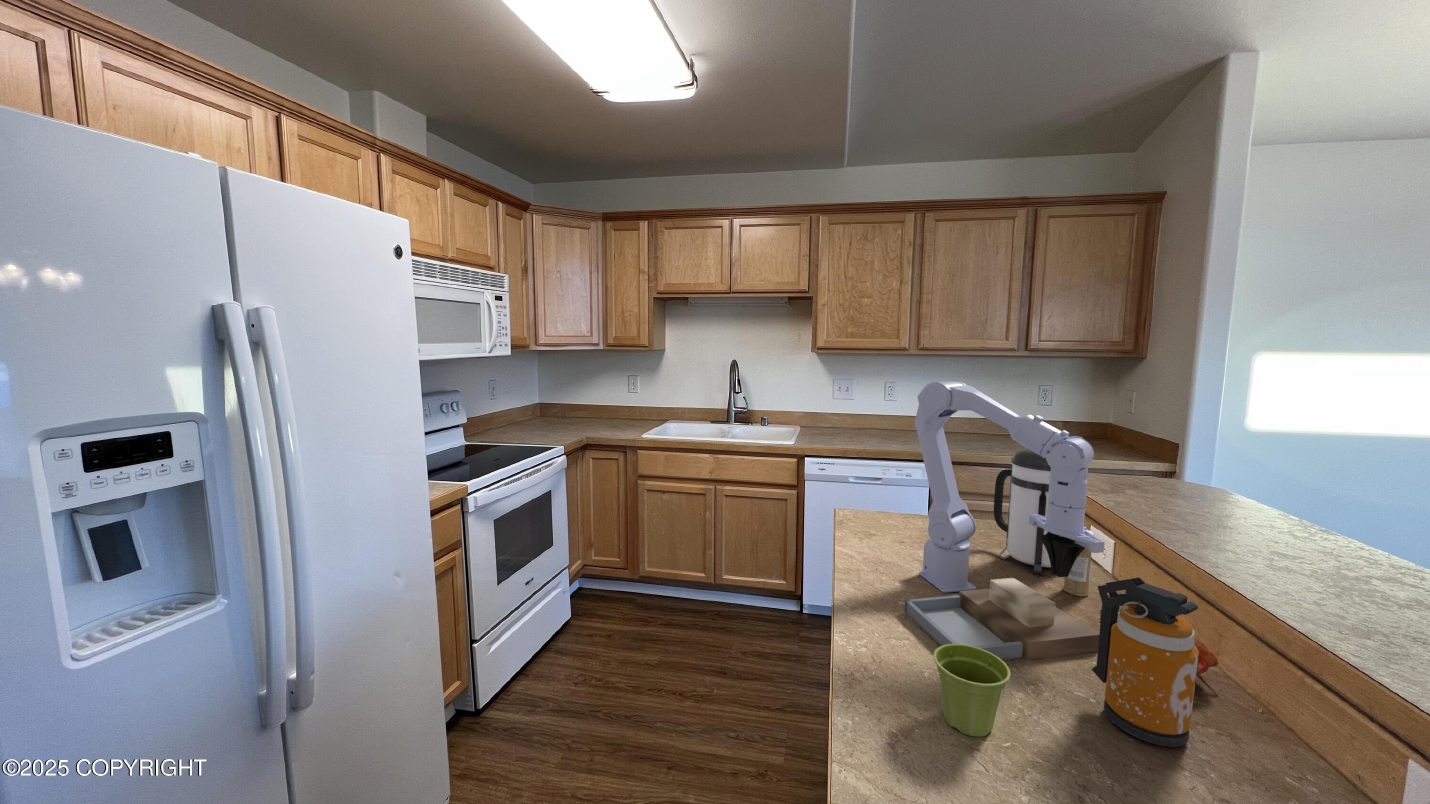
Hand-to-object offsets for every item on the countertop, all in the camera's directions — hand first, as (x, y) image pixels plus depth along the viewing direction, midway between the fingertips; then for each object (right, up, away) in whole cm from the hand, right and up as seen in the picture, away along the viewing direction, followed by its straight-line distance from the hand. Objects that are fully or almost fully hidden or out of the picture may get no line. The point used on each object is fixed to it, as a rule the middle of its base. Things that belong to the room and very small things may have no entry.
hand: (1060, 575), depth 96 cm
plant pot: (-29, -12, -24) cm, 40 cm away
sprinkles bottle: (+12, -8, +13) cm, 20 cm away
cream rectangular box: (-8, -7, -1) cm, 10 cm away
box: (-20, -10, -2) cm, 22 cm away
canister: (-6, -12, -24) cm, 28 cm away
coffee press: (+11, -7, +28) cm, 31 cm away
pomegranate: (+9, -12, -15) cm, 21 cm away
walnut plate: (-7, -9, 0) cm, 12 cm away
